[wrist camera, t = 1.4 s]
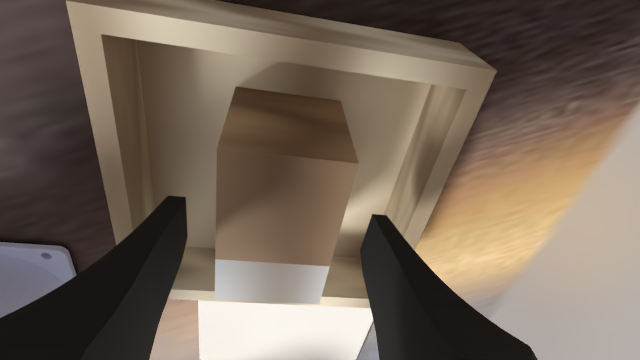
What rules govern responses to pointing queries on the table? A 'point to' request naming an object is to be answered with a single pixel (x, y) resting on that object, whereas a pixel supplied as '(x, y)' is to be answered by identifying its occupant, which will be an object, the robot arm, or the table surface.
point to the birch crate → (277, 76)
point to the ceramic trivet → (280, 331)
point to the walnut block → (280, 195)
